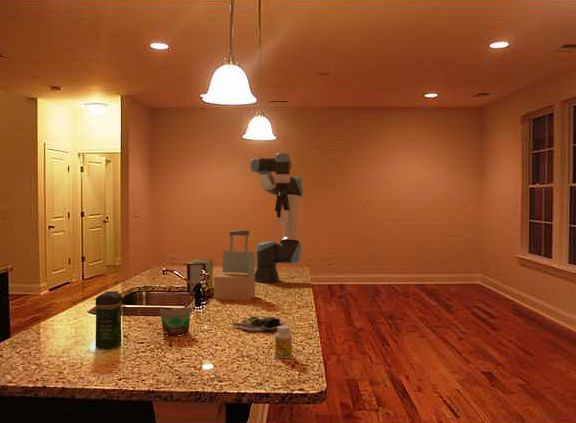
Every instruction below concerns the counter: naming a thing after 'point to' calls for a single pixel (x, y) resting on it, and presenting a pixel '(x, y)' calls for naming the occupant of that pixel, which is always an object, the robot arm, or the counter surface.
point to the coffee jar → (108, 320)
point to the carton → (236, 284)
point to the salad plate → (260, 324)
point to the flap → (236, 255)
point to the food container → (175, 321)
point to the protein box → (198, 272)
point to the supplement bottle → (283, 342)
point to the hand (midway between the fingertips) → (282, 223)
